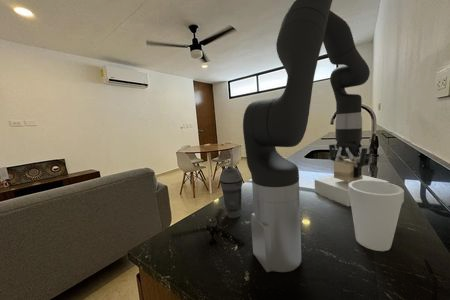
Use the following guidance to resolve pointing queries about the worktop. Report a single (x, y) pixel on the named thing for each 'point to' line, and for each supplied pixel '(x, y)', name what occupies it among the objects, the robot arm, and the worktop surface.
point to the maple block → (345, 170)
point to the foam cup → (375, 212)
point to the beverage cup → (231, 190)
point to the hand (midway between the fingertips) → (347, 175)
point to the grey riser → (337, 188)
